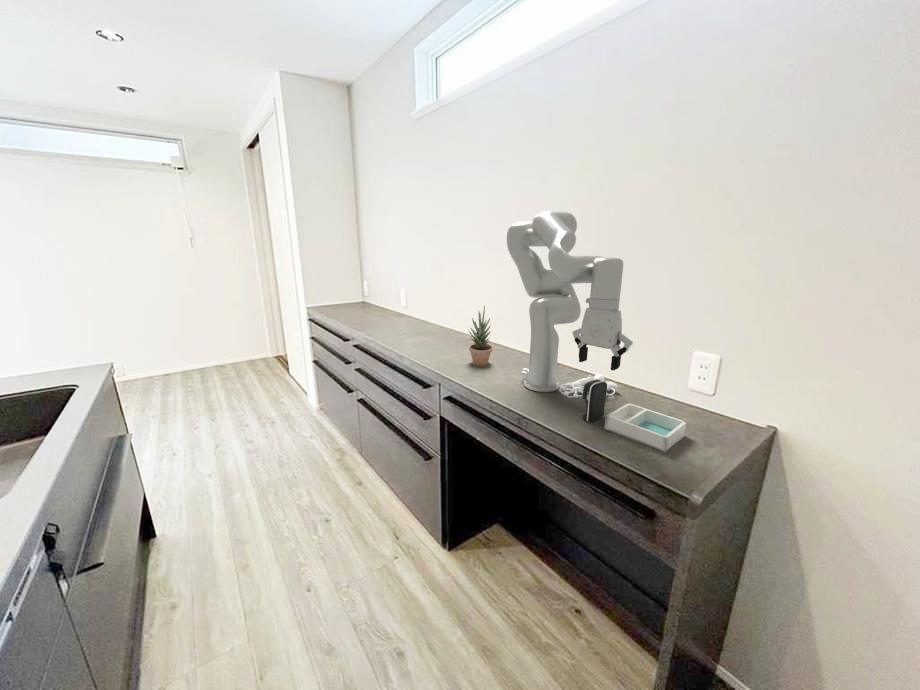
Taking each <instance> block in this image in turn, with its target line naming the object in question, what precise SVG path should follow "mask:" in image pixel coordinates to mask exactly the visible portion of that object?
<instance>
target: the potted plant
mask: <svg viewBox="0 0 920 690" xmlns="http://www.w3.org/2000/svg"><path fill="white" fill-rule="evenodd" d="M485 313H486V307H485V304H484V305H483V311H482V314H481V312H480V311H478V313H477V314H478V315H477V316H478V325H477V322H476V321H475V320H474V318H473V317H472V318H471V319H472V320H471V321H472V323H473V327H474V329H475V330H474V329H473V328H472V327H470V330H468V332H469V334H470V336H471V337H472V338H471V337H470V339H471V341H472V342H473V344H470V345H469V346H468V347H469V349H468V350H469V352H470V355H471V359H472V363H473V365H475V366H481V367H482V366H486V365H488V364H489V359H490V356H491V353H492V352H493V346H492V345H490V344H489V342H490V340H489V339H490V337H488V336H489V335H491V331H489V330H490V328H491V325H489V323H490V320H491V317H489V319H487V320H485ZM488 325H489V326H488Z"/></svg>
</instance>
